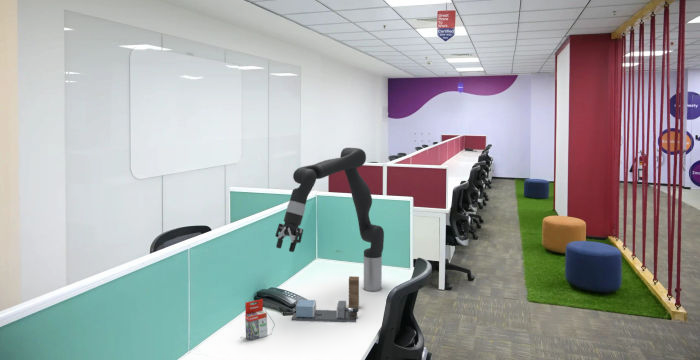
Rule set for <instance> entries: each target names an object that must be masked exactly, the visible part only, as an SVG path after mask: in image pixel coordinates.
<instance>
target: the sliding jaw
mask: <svg viewBox="0 0 700 360" xmlns="http://www.w3.org/2000/svg"><path fill="white" fill-rule="evenodd" d="M295 310H296V316H297V317H314V315H315V312H316V310H317V300H316V299H299V300H298V302H297V304H296V309H295Z"/></svg>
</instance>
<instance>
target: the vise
mask: <svg viewBox="0 0 700 360" xmlns="http://www.w3.org/2000/svg"><path fill="white" fill-rule="evenodd" d="M358 313H359V308H357V307H354V308H349V307H347V301H346V300H338V301H337V304H336V309H335V310H333V309H331V310H329V309H316V312H315V314H323V316H318V317H317V316H314V317H297V316H296V313H294V312H293V314H292V316H291V321H300V322H301V321H304V322H334V323H337V322H338V323H357V318H358Z"/></svg>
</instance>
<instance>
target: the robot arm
mask: <svg viewBox="0 0 700 360" xmlns="http://www.w3.org/2000/svg"><path fill="white" fill-rule="evenodd" d="M366 160H367V154H366V152H365V151H364V150H363V149H362V148H359V147H345V148H343V149H342V150H341V151H340V157H335V158H329V159H326V160H322V161H320V162H317V163H315V164H311V165H305V166H304V165H303V166H300V167H298V168H297V169H296V170H294V172H293V174H292V178H293V180H294V182H295V183H297V184H299V186H298V187H296V188H294V189H292V192H291V195H290V197H289V198H290V199H289V201H288V204H287V208H286V211H285V213H284V218H283V222H284V224H283V223H278V227H277V229H276V232H275V237H276V238H277V241H276V244H275V246H276V248H277V249H282V247H283V246H282V245H283V242H284V239H285V238H286V237H289V238H290V241H291V242H290V245H289V249H288V251H289V252H290V253H291V252H292V253H294V252H295V250H296V247H297V246H296V245H297V244H300V243H301V242H302V239H303V235H304V234H303V233H304V229H303V228H301V227H300V226H301V224H302V221H303V217H304V214H305V210H306V204H307V201H308V197H309V194H311V191H312V189H313V188H314V187H315V184H316V180H320V179H324V178H326V177H329V176H330V175H334V174H336V173H338V172H339V173H340V172H342V171H344V173H345V176H346V179H347V182H348V186H349V189H350V192H351V198H352V202H353V204H354V205H353V206H354V207H355V212H356V217H357V221H358V229H359V235H360V238H361V239H362V241H364V242H367V243H370V247H369V248H365V249H364V250H363V290H366V291H368V292H369V291H370V292H378V291H380V290H382V273H383V272H382V267H383V265H382V264H383V261H382V259H383V257H382V255H383V250H384V245H385V244H384V242H385V241H384V240H385V231H384V228H383V227H382V226H380V225H376V224H372V222H371V220H370V210H371V208H372V205H373V198H372V194H371V190H370V187H369V186H368V184H367V182H366V181H365V180H364V179H363V178H362V176H361V174H360V173H359V171H358V168H361V167H362V166H363V165H364V164H365V163H366Z"/></svg>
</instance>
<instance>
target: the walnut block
mask: <svg viewBox="0 0 700 360" xmlns="http://www.w3.org/2000/svg"><path fill="white" fill-rule="evenodd" d="M359 286H360V276H352V275H351V276H349V277H348V308H354V307H357V308H358V309H359V307H360V287H359Z"/></svg>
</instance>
